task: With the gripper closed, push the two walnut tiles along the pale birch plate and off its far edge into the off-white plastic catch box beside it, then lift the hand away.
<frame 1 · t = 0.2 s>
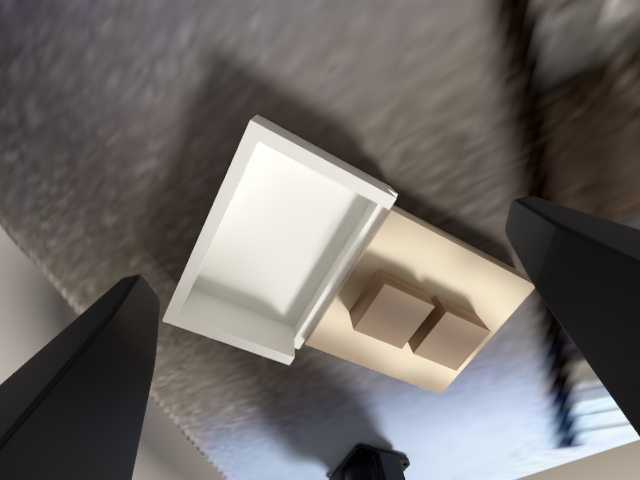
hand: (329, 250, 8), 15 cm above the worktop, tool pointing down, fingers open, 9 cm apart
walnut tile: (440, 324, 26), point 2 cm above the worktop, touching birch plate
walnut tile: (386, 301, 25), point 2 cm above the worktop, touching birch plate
catch box: (280, 239, 25), on the worktop
birch plate: (408, 296, 28), on the worktop
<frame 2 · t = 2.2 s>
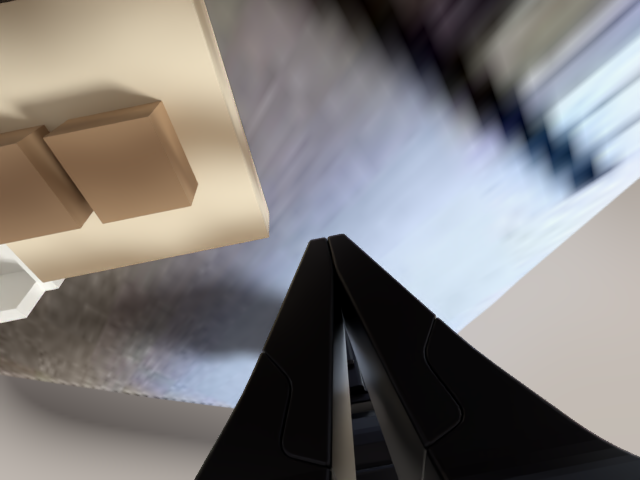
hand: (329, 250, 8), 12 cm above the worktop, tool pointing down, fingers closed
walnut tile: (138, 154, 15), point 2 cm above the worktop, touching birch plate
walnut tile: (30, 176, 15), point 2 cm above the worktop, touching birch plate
birch plate: (114, 141, 17), on the worktop
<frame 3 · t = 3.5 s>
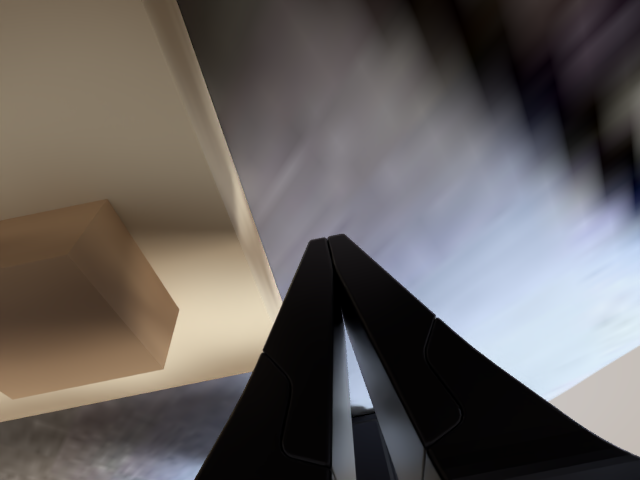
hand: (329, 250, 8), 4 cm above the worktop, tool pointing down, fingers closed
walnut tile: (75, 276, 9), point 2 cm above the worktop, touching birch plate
birch plate: (49, 235, 11), on the worktop
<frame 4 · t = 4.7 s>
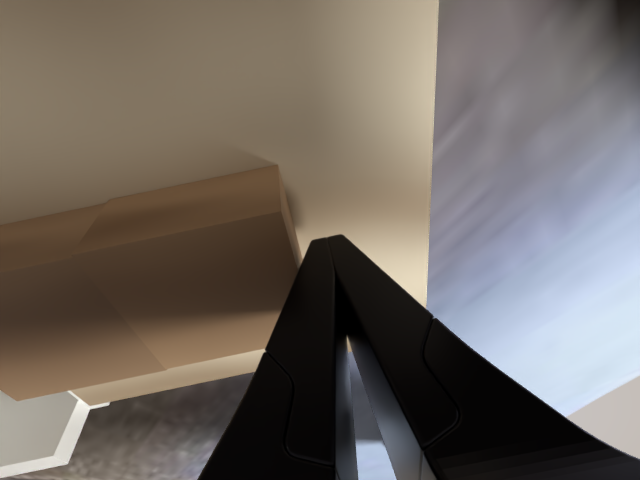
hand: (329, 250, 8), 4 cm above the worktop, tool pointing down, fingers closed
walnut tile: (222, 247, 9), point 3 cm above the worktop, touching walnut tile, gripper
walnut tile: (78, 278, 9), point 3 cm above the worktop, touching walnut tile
birch plate: (206, 205, 11), on the worktop
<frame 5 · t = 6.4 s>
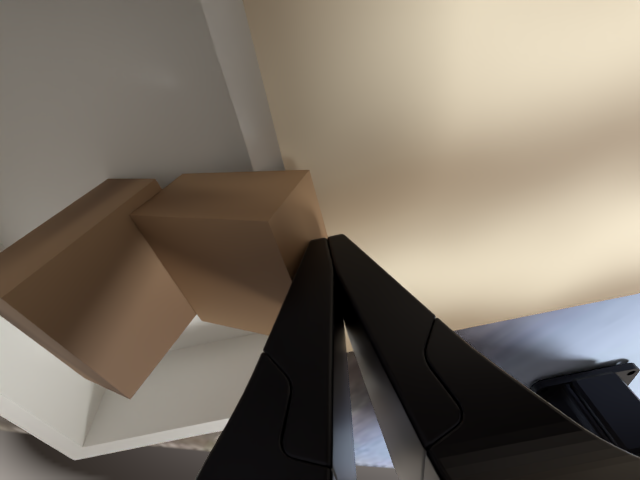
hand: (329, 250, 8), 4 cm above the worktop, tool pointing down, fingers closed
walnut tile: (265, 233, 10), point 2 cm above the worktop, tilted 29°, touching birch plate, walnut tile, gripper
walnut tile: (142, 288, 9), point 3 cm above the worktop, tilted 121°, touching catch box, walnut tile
catch box: (146, 217, 11), on the worktop
birch plate: (489, 147, 11), on the worktop
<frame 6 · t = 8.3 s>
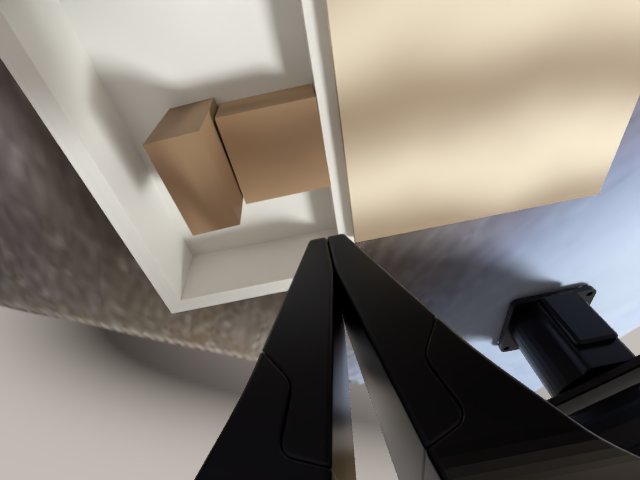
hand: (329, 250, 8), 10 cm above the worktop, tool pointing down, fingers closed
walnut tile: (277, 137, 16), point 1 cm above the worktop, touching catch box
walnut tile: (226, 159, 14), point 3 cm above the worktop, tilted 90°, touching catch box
catch box: (230, 134, 16), on the worktop
birch plate: (468, 86, 16), on the worktop
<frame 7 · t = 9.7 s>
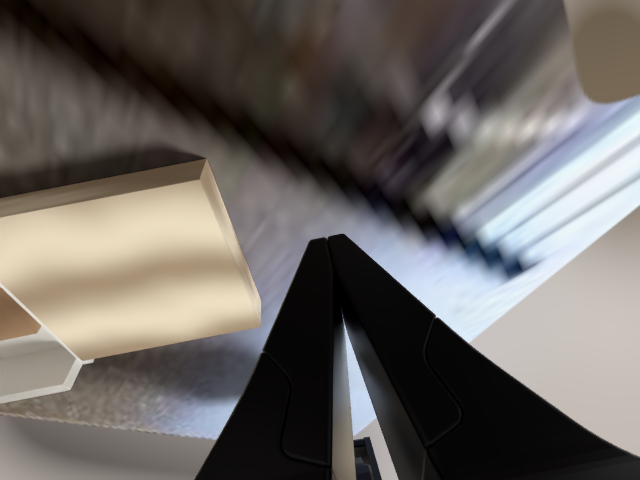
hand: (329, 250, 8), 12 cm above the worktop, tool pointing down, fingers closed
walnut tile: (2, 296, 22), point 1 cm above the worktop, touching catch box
birch plate: (142, 259, 23), on the worktop
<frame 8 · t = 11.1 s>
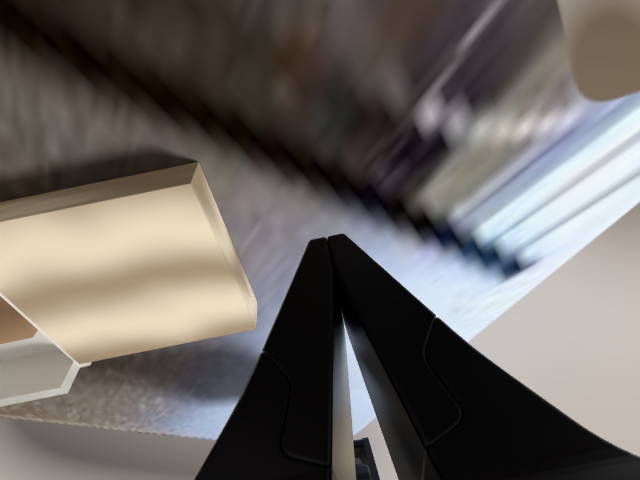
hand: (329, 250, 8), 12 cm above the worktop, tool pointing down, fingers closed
birch plate: (137, 263, 23), on the worktop
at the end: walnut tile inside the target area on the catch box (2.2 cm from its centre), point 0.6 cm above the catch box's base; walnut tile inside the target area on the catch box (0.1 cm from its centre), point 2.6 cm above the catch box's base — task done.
